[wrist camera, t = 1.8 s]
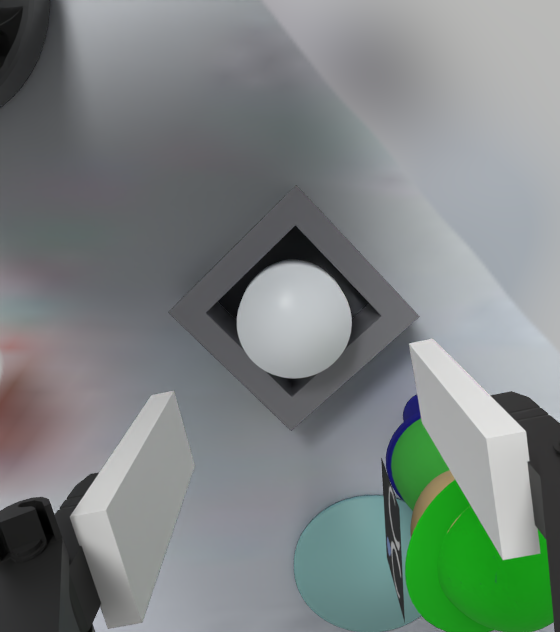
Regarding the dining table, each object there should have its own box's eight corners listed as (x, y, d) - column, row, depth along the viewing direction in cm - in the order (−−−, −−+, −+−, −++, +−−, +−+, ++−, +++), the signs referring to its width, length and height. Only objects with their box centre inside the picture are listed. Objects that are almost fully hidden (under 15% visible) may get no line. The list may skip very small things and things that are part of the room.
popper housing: (181, 298, 34) (167, 312, 30) (295, 186, 32) (296, 184, 28) (290, 404, 35) (291, 430, 31) (404, 302, 33) (419, 316, 30)
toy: (359, 378, 35) (412, 513, 20) (492, 367, 34) (645, 496, 20) (367, 499, 37) (420, 702, 22) (492, 490, 36) (631, 689, 22)
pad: (279, 510, 37) (279, 514, 37) (435, 481, 36) (437, 484, 36) (310, 639, 39) (310, 643, 39) (457, 614, 39) (459, 618, 38)
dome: (219, 310, 30) (212, 322, 28) (294, 237, 29) (295, 242, 26) (291, 380, 31) (292, 400, 28) (367, 312, 30) (375, 325, 27)
